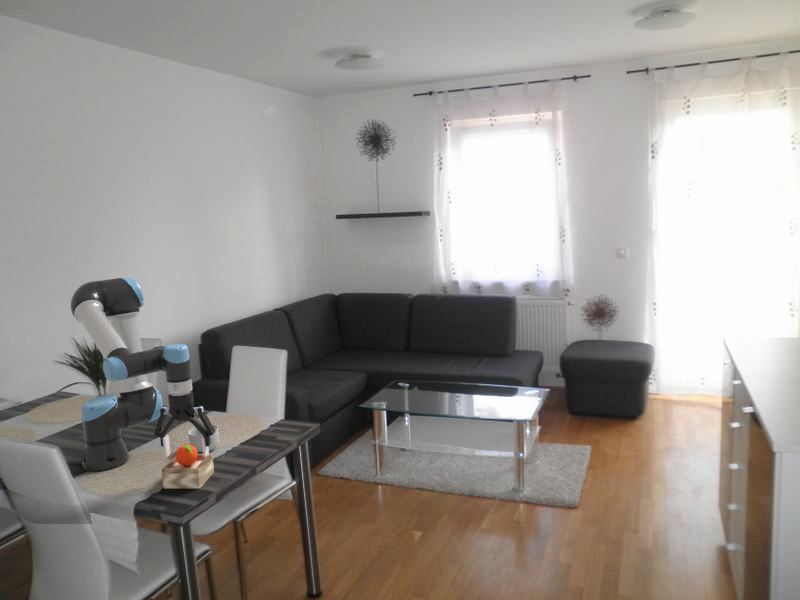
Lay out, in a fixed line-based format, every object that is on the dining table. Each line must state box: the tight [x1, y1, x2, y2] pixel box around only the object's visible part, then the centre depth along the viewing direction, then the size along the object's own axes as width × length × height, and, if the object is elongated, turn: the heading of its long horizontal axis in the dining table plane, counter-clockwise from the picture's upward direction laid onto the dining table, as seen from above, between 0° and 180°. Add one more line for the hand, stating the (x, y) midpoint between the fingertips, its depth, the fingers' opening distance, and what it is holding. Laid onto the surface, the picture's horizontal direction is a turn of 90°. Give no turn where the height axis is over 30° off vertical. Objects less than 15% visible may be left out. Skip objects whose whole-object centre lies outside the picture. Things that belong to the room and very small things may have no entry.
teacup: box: [187, 422, 220, 453], centre depth 233 cm, size 14×11×8 cm
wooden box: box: [161, 453, 215, 489], centre depth 206 cm, size 12×12×6 cm
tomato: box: [174, 443, 199, 466], centre depth 205 cm, size 8×7×7 cm
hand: (186, 455), depth 205 cm, fingers open, 12 cm apart
